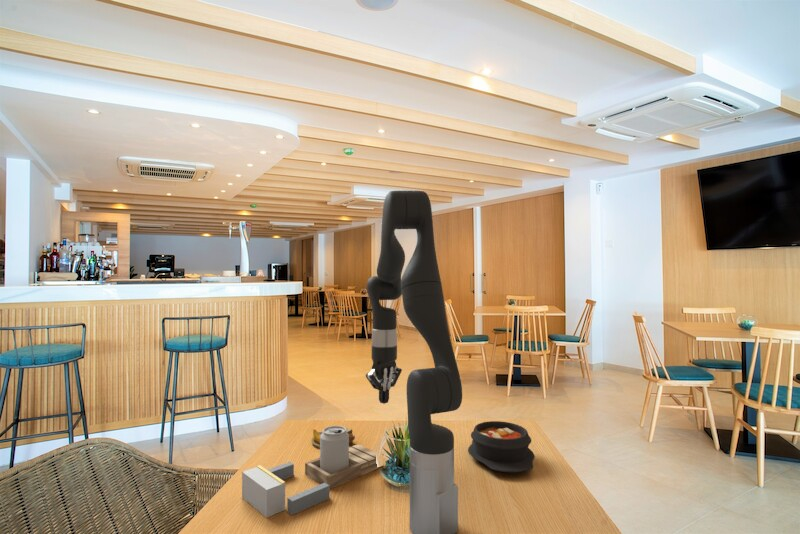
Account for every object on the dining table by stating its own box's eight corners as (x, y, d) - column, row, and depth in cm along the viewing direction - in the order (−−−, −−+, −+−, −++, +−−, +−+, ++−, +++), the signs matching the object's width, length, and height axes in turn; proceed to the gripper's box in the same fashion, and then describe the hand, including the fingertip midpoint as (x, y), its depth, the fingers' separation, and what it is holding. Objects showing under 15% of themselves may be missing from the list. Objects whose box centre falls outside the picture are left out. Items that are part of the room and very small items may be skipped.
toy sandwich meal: (338, 432, 145) (338, 418, 145) (360, 444, 134) (360, 429, 134) (304, 441, 137) (304, 426, 137) (324, 455, 126) (324, 439, 126)
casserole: (550, 478, 112) (549, 446, 112) (479, 480, 111) (479, 447, 111) (517, 441, 137) (517, 414, 137) (460, 442, 135) (460, 415, 136)
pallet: (383, 466, 119) (383, 455, 119) (329, 489, 106) (329, 477, 106) (358, 454, 126) (358, 444, 126) (305, 474, 114) (305, 463, 114)
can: (343, 482, 109) (343, 435, 109) (315, 479, 111) (315, 433, 111) (352, 469, 117) (352, 425, 117) (326, 467, 118) (326, 423, 118)
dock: (329, 498, 102) (329, 471, 102) (273, 523, 91) (273, 494, 92) (289, 473, 114) (289, 449, 114) (236, 492, 104) (236, 466, 104)
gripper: (376, 348, 119) (375, 410, 119) (409, 342, 129) (408, 400, 129) (358, 344, 125) (358, 404, 125) (391, 339, 134) (391, 395, 134)
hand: (384, 402), depth 127 cm, fingers closed
